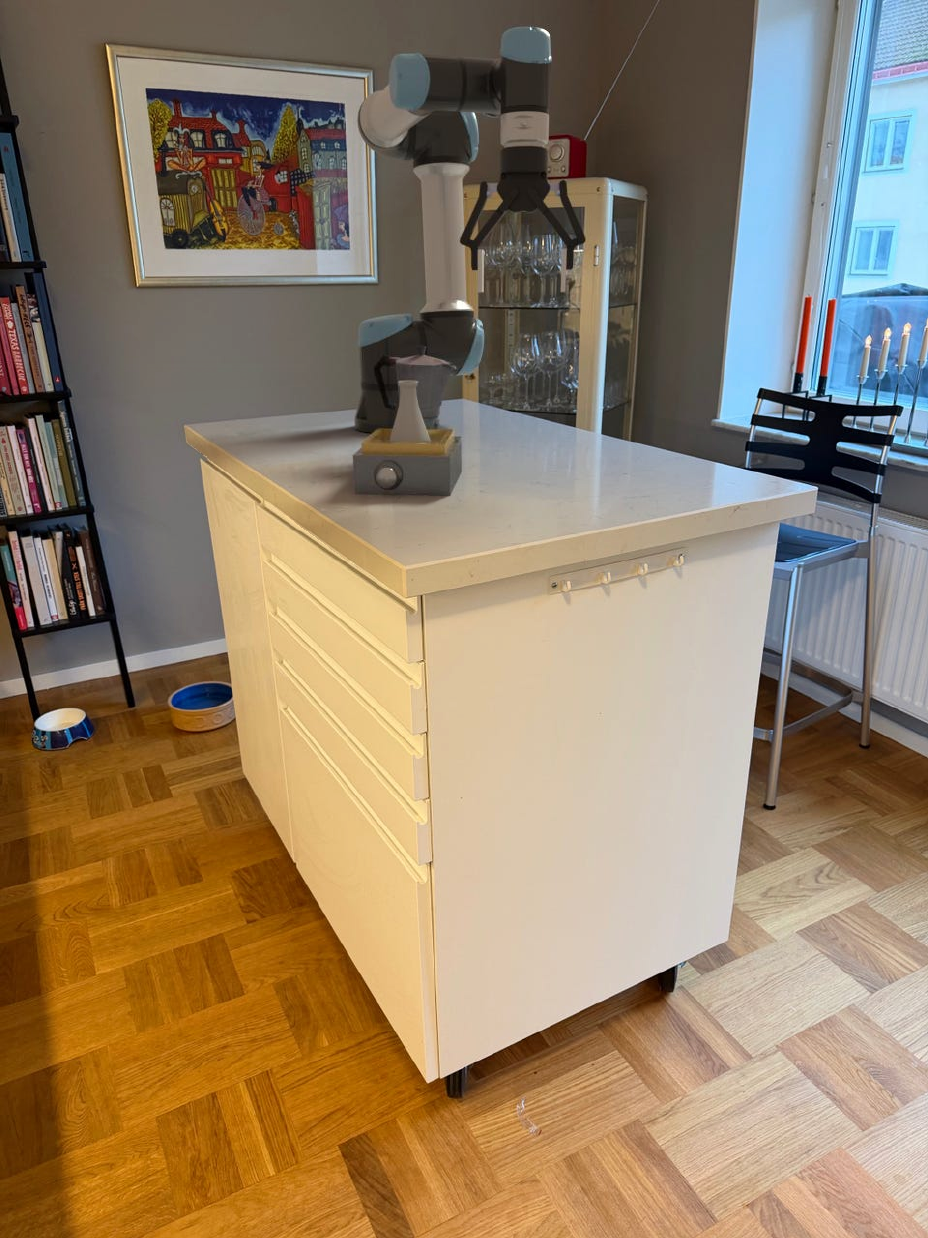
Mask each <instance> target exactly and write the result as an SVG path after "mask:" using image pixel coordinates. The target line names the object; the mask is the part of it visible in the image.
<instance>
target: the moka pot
mask: <svg viewBox="0 0 928 1238" xmlns="http://www.w3.org/2000/svg"><path fill="white" fill-rule="evenodd" d="M425 349H426V347H425V346H423V345H420V346H417V350H418V355H415V356H411V357H406V358H398V357H389V356H386V355H383V356H382V358H380V361H378V362H377V364H376V365H375V366H374V374H375V377H376V381H377V383H378V386H379V390H380V393H381V397H382V399H383V403H384V407H386V408H389V409H394V410H395V409H396V408H397V405H396V404H391V403H390V402H389V399H388V397H387V395H386V389H385V385H384V382H383V377H382V374H381V372H380V369H381V367H382V366H387V367H389V368H395V369H396V374H397V384H398V381H412V380H413V381H418V385H417V386H416V395H417V400H418V406H419V409H420V412H421V415H422V418H423V421H424V424H425V426H426V429H441V428H440V427H441V426H440V425H441V424H440V418H439V416H440V414H441V413H440V412H441V411H440V410H441V406H442V403H443V396H444V390H445V388H446V386H447V384H448V382H449V380H450V378H451V377H452V376H451V374H452V372H453V370H454V369H456V367H455V365H453V364H452V363H449V362H446V361H444V360H441V359H437V358H433V357H430V356H426V355H424V354H425ZM398 393H399V402H400V386H399V385H398Z"/></svg>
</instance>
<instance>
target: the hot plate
mask: <svg viewBox="0 0 928 1238" xmlns="http://www.w3.org/2000/svg"><path fill="white" fill-rule="evenodd" d="M392 430H393V429H377V430H376V431H374V432H373V433H371V434H369V436H367V437H366V438H365V439H364V440H363V441H362V442H361V447H360V448H359V449H358V450H357V451H355V452H354V453H353V454H352V469H353V482H354V483H353V485H354V486H353V487H354V494H355V495H356V494H357V495H361V494H363V495H401V496H402V495H404V496H406V495H407V496H409V495H411V496H412V495H413V496H415V495H416V496H451V495H452V493H453V491H454V488H455V486H456V484H457V482H458V480H459V478H460V476H461V474H462V471H463V460H462V457H463V456H462V454H463V452H462V451H463V450H462V445H463V442H462V439H463V437H462V435H460V436H459V435H458V436H457V435H456V436H455V429H449V428H447V429H446V428H445V429H444V428H443V429H441V428H440V429H427V432H428V434H429V437H430V440H431V443H411V442H389V440H390V436H391V433H392Z"/></svg>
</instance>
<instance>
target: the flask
mask: <svg viewBox="0 0 928 1238" xmlns="http://www.w3.org/2000/svg"><path fill="white" fill-rule="evenodd" d="M398 385H399V386H400V403H399V408H398V412H397V416H396V420H395V423H394V427H393V430H392V433H391V436H390V440H389V442H411V443H431V440H430V437H429V434H428V432H427V429H426V426H425V424H424V421H423V418H422V415H421V412H420V409H419V406H418V400H417V395H416V386H417V385H418V381H413V380H412V381H398Z"/></svg>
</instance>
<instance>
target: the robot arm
mask: <svg viewBox="0 0 928 1238" xmlns="http://www.w3.org/2000/svg"><path fill="white" fill-rule="evenodd" d="M551 45H552V44H551V35H550V33H549V32H548V31H547V30H545V29H543V28H541V27H537V26H519V27H518V26H517V27H512V28H509V29H507V30H505V31H504V32H503V34H502V35H501V43H500V50H499V55H500V58H499V57H498V58H495V59H494V58H483V57H482V58H481V57H464V56H451V55H450V56H447V55H438V54H437V55H435V54H422V53H419V52H412V53H399V54H395V56H393V58H392V60H391V63H390V67H389V74H388V84H387V85H386V87H384V88H383V89H382V90H381V89H379V90H376V91H374V92H372V93H370V94H369V95H368V96H366V98H365V99H364V100H363V101H362V102H361V105H360V106H359V109H358V112H357V120H356V121H357V128H358V131H359V134H360V136H361V138H362V140H363V141H364V143H365V144H366V145H367V146H368V147H369V148H370V149H371V150H372V151H374V152H375V153H377V154H378V155H380V156H382V157H384V158H388V159H391V160H397V161H411V162H412V171H413V173H414V174H415V176H417V178H418V179H419V180H420V181H421V182H420V184H421V205H422V207H421V209H422V226H423V227H422V229H423V230H422V231H423V249H424V252H423V253H424V255H423V256H424V272H425V273H424V275H425V295H426V297H425V298H426V303H425V305H424V306H423V308H422V309H420V311H419V317H420V318H419V320H415V319H414V317H413V314H411V313H399V314H391V315H390V314H389V315H385V316H383V315H382V316H377V317H373V318H369V319H365V320H363V321H362V322H361V323H360V324H359V326H358V331H357V332H358V334H357V335H358V336H357V337H358V338H357V341H358V343H357V347H358V355H359V356H358V357H359V358H358V359H359V361H358V362H359V376H360V379H359V380H360V381H359V382H360V396H359V399H358V404H357V407H356V409H355V410H356V411H355V415H354V417H353V418H354V419H353V420H354V429H355V430H357V431H359V432H363V433H371V434H372V433H373V432H374V431H376V430H377V429H393V427H394V423H395V420H396V416H397V412H398V408H399V403H400V402H399V393H398V384H397V374H396V369H395V368H389V367H387V366H382V367H381V369H380V372H381V374H382V377H383V382H384V385H385V389H386V395H387V397H388V399H389V402H390V403H391V404H396V405H397V408H396V409H395V410H394V409H389V408H386V407H384V403H383V399H382V397H381V393H380V390H379V386H378V383H377V381H376V377H375V374H374V366H375V365H376V364H377V362H378V361H380V358H382V356H383V355H386V356H389V357H398V358H406V357H411V356H415V355H418V350H417V346H420V345H423V346H425V347H426V349H425V354H424V355H426V356H430V357H433V358H437V359H441V360H444V361H446V362H449V363H452V364H453V365H455V367H456V369H454V370H453V372H452V374H451V376H450V377H458V376H465V375H466V376H467V375H470V374H471V375H472V374H473V373H474V372H475V371H476V370H477V369H478V367H479V365H480V363H481V360H482V357H483V354H484V353H483V352H484V348H485V331H484V325H483V321H481V320H480V319H478V318H475V311H474V308H473V307H472V306H471V304H469V303H468V301H467V280H466V279H467V278H466V277H467V276H466V273H467V272H466V248H465V247H468V248H469V249H470V268H471V270H472V271H477V293H484V292H485V291H484V288H485V287H484V284H485V283H484V282H485V280H484V278H485V275H484V273H485V269H484V268H485V267H484V265H485V259H484V258H485V250H484V249H481V248H480V247H481V246H482V244H483V243H484V242H485V240H486V239H487V238H488V237H489V235H490V234H491V232H492V231H493V230H494V228H495V227H496V226H497V224H498V223H499V222H500V221H501V220H502V218H503V217H504V216H505V214H507V213H508V211H510V212H511V213H514V214H517V213H519V214H520V213H522V212H524V213H529V214H530V213H531V214H533V213H534V212H536V211H537V210H539V212H541V213H540V214H542V215H543V217H544V218H545V219H546V221H547V222H548V224H549V225H550V227H552V229H553V230H554V231H555V233H556V234H557V236H558V237H559V238H560V239H561V241H562V242H563V244H564V245H565V247H566V248H561V268H560V270H561V272H560V293H566V284H567V283H566V282H567V279H566V278H567V271H569V270H573V268H574V261H575V259H574V257H575V255H574V254H575V248H576V247H578V246H581V245H583V244H585V243H586V239H587V238H586V236H585V233H584V232H583V229H582V226H581V224H580V222H579V219H578V217H577V214H576V212H575V210H574V207H573V204H572V201H570V198H569V195H568V185H567V181H566V180H564V179H562V180H560V181H557V182H555V181H554V182H549V179H548V172H549V171H548V169H549V168H548V165H549V149H548V148H547V147H546V145H547V144H548V143H549V140H550V139H549V136H550V135H549V133H550V131H549V130H550V92H551V91H550V90H551V89H550V88H551V67H552V65H551V63H552V61H553V59H552V58H553V57H552V56H551V55H552V53H551V52H552V51H551V49H552V48H551V47H552V46H551ZM476 114H482V115H484V116H486V117H489V118H500V122H499V123H500V127H499V128H500V135H499V137H500V139H499V140H500V141H499V142H500V144H501V146H503V147H502V148H501V149H500V151H499V180H498V182H497V183H491V182H487V181H484V180H483V181H481V182H480V185H479V194H478V198H477V201H476V202H475V205H474V206H473V209H472V212H471V214H470V216H469V218H468V220H467V223H466V225H465V219H464V217H465V216H464V188H463V187H464V186H463V183H464V182H463V180H464V177H465V176H466V175H467V174H468V173H469V172H470V164H471V163H472V162H474V161H475V160H476V158H477V156H478V153H479V143H480V141H479V140H480V139H479V138H480V137H479V136H480V135H479V127H478V120H477V116H476ZM550 191H552V192H553V195H554V196H555V197H557V198H559V199H560V203H561V205H562V207H563V209H564V212H565V214H566V217H567V219H568V221H569V224H570V225H571V226H570V227H571V229H572V230H573V234H574V236H575V238H572V237H571V236H570V235H569V233H568V232H567V231H566V230H565V229H564V227H563V226H562V224H561V223H560V222H559V219H557V218H556V216H555V215H554V213H553V211H551V210H550V208H549V207H548V206H547V204H546V203H545V201H544V200H545V199H546V197H547V196H548V195H549V193H550ZM495 192H496V193H497V194H498V196H499V197H500V199H501V200H502V201H501V203H500V205H498V207H497V209H496V210H495V211H494V213H493V214H492V215H491V217H490V218H489V219H488V220H487V221H486V223H485V224H484V226H483V227H482V228H481V229H480V230H479V232H478V234H477V235H476V236H475V237H474V239H471V237H472V235H473V233H474V231H475V229H476V226H477V225H478V222H479V220H480V217H481V215H482V214H483V213H482V212H483V211H484V209H485V207H486V204H487V202H488V199H490V198H492V197H493V194H494V193H495Z"/></svg>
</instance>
